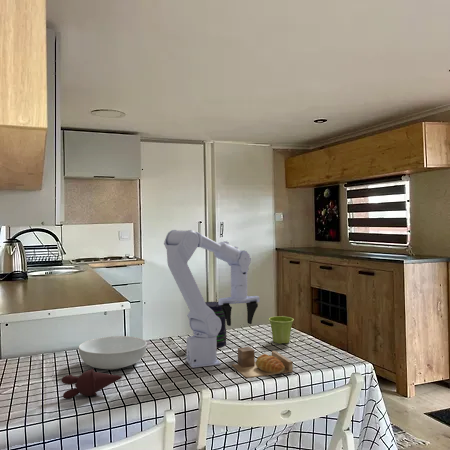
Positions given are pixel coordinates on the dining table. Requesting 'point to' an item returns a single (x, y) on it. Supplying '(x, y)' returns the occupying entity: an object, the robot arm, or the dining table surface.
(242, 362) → the walnut block
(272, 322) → the plant pot
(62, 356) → the dining table surface
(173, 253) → the robot arm
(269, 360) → the pastry
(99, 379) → the icecream
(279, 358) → the board
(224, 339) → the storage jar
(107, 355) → the serving bowl
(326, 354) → the dining table surface
